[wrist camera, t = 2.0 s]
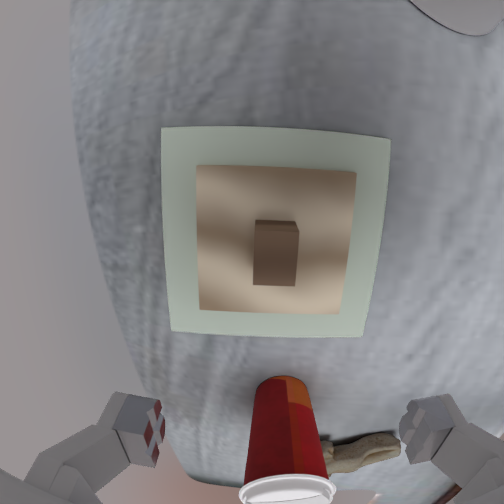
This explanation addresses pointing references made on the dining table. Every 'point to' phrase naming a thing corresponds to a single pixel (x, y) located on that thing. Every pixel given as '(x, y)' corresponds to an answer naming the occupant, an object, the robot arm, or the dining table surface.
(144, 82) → the dining table surface
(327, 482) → the paper cup
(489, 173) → the dining table surface
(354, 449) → the sculpture
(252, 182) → the lid
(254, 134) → the mat
